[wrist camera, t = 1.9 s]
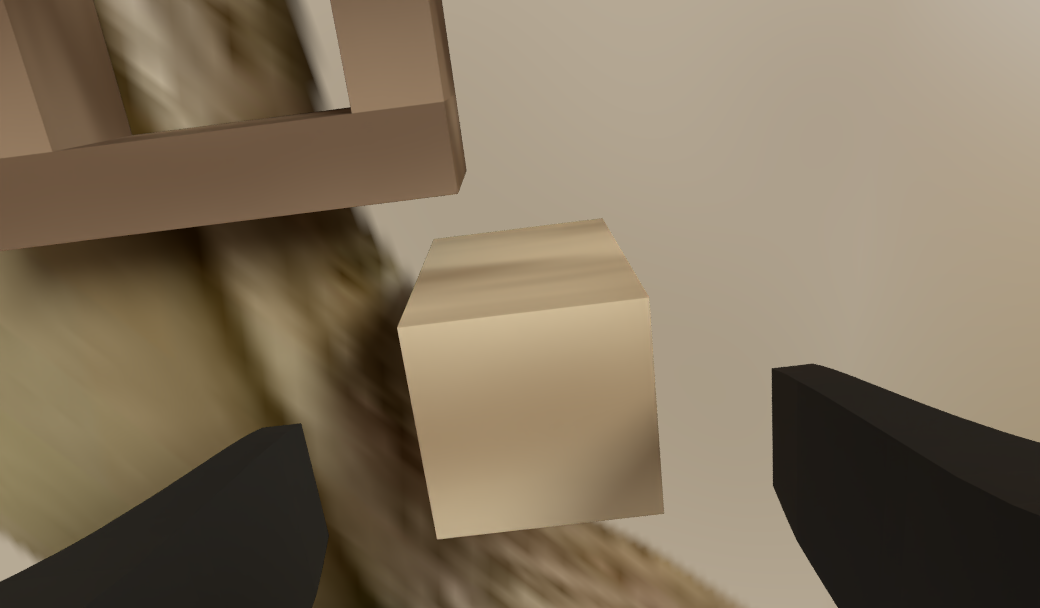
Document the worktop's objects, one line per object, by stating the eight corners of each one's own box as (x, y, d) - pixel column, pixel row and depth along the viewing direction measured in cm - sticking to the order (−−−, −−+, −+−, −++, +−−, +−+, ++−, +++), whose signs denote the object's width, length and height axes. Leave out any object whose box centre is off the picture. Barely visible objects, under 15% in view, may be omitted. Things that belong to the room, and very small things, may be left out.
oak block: (615, 373, 18) (663, 513, 13) (458, 391, 18) (436, 539, 13) (602, 218, 17) (649, 297, 11) (434, 238, 17) (397, 327, 12)
